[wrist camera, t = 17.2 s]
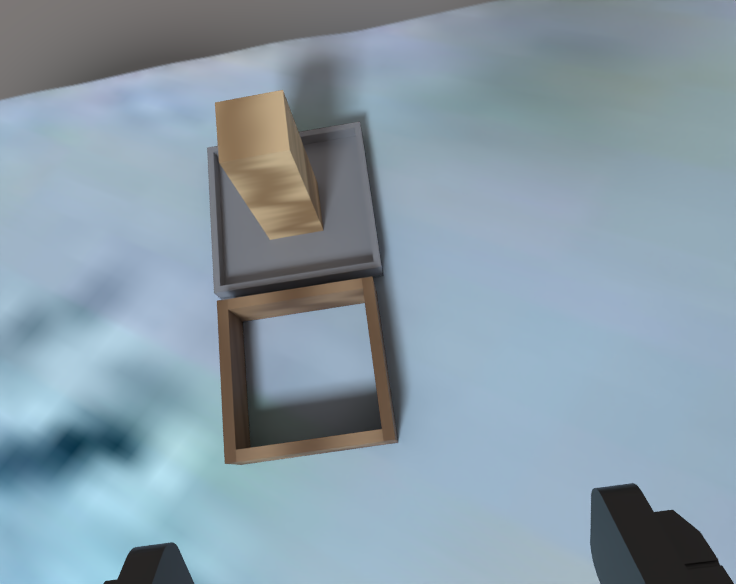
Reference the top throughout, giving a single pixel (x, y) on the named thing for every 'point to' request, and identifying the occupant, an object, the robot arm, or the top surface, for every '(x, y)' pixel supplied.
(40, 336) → the top surface
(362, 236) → the tray
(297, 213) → the oak peg
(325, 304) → the square wooden frame
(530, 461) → the top surface
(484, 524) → the top surface
